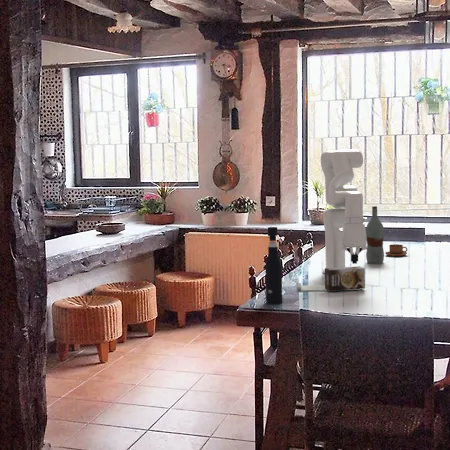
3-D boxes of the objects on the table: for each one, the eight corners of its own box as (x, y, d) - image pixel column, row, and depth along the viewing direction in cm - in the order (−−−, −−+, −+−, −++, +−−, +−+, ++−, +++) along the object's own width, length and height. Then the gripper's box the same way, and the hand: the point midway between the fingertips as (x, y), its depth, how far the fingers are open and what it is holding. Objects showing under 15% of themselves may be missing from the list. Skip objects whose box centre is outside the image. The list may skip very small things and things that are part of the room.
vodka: (365, 263, 367) (365, 207, 364) (366, 261, 376) (366, 206, 373) (384, 264, 365) (383, 207, 362) (384, 261, 374) (383, 205, 371)
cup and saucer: (403, 254, 400) (403, 243, 399) (409, 257, 388) (409, 246, 387) (382, 254, 400) (382, 244, 399) (388, 257, 388) (388, 246, 387)
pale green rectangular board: (298, 287, 308) (297, 283, 308) (357, 286, 306) (357, 282, 305) (298, 291, 298) (298, 287, 298) (359, 290, 296) (359, 286, 295)
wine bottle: (281, 300, 280) (279, 226, 277) (283, 303, 274) (281, 228, 271) (265, 301, 280) (263, 226, 277) (266, 304, 274) (265, 228, 271)
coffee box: (365, 288, 296) (329, 291, 293) (360, 286, 302) (324, 289, 299) (365, 267, 295) (328, 270, 292) (359, 265, 301) (323, 268, 298)
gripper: (370, 219, 301) (371, 261, 303) (335, 220, 302) (336, 262, 304) (372, 221, 294) (373, 264, 295) (337, 222, 295) (337, 264, 297)
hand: (354, 263), depth 300 cm, fingers closed
